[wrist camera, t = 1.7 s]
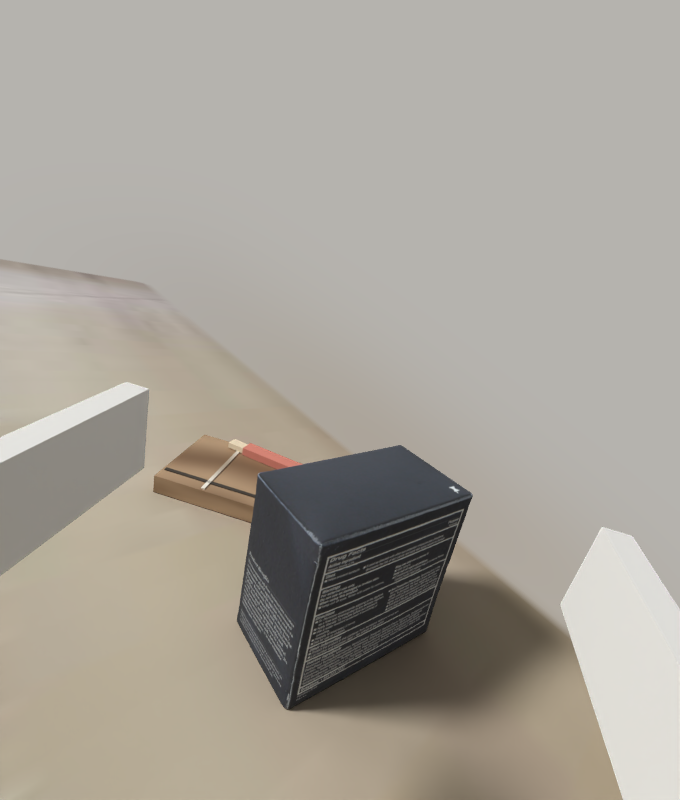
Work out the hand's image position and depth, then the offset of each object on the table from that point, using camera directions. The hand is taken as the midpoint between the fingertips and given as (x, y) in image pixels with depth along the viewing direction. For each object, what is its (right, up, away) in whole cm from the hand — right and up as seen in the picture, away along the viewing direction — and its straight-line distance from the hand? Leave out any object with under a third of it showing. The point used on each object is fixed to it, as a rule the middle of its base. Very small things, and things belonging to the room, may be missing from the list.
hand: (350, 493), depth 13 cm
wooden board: (-6, -6, +25) cm, 27 cm away
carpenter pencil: (-3, -4, +26) cm, 27 cm away
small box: (-1, -11, +15) cm, 19 cm away
